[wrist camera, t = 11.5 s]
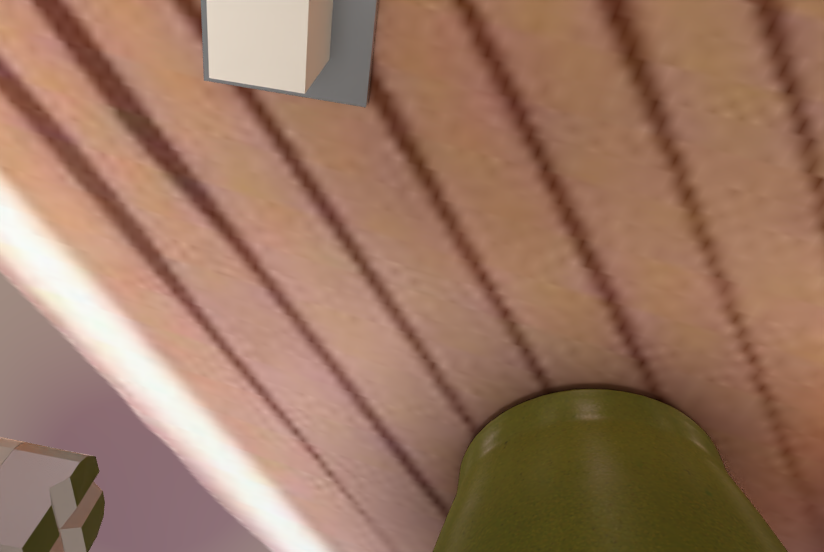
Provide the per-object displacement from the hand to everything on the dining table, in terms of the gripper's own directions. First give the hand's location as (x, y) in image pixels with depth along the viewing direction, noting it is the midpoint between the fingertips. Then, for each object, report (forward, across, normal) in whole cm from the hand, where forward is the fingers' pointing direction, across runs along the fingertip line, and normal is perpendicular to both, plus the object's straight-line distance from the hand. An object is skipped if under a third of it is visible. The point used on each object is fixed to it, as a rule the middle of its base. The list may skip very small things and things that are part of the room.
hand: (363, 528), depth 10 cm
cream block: (+30, +9, +1) cm, 31 cm away
